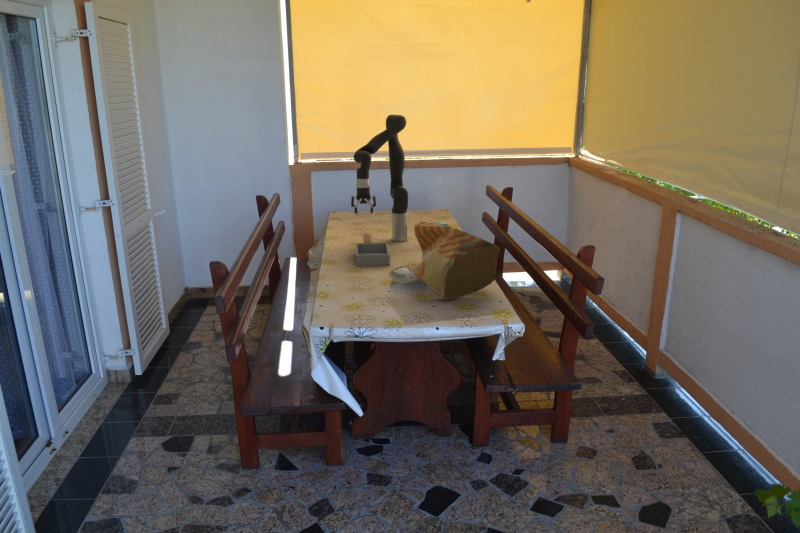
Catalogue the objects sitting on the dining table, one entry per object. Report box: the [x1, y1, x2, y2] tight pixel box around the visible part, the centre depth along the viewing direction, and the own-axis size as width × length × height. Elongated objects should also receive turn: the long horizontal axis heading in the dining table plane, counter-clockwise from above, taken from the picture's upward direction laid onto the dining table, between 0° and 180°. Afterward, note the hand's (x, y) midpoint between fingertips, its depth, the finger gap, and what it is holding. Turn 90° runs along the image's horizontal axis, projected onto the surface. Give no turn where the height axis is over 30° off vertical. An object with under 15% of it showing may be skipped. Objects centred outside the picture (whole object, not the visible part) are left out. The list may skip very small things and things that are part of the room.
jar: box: [362, 232, 373, 243], centre depth 374 cm, size 5×5×9 cm
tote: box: [355, 242, 391, 267], centre depth 354 cm, size 18×24×6 cm
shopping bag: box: [406, 220, 501, 300], centre depth 304 cm, size 36×32×40 cm
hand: (363, 213), depth 371 cm, fingers open, 8 cm apart
